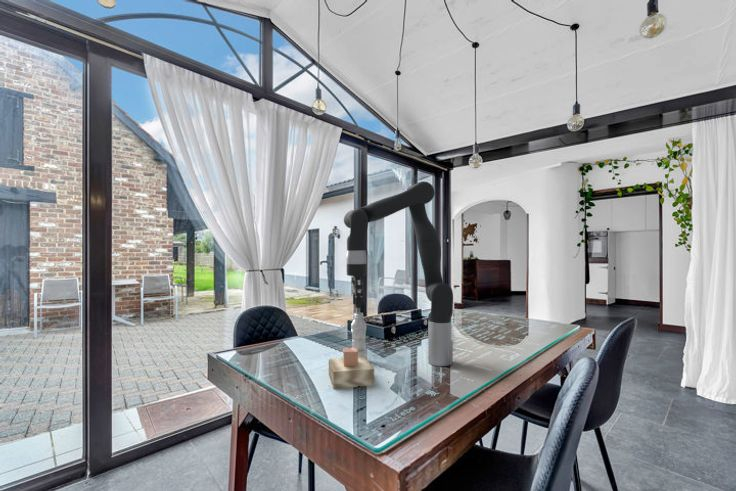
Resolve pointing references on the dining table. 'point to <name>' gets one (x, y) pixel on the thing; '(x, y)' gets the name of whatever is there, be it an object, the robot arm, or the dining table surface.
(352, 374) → the beige square slab
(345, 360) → the terracotta block
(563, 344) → the dining table surface
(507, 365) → the dining table surface
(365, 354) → the plastic bottle
